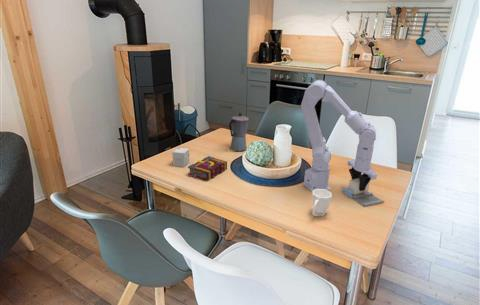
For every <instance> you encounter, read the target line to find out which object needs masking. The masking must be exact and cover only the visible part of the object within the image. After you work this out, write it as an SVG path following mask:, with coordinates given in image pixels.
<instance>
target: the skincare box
mask: <svg viewBox="0 0 480 305" xmlns="http://www.w3.org/2000/svg"><path fill="white" fill-rule="evenodd" d="M171 154H172V165H173V167H179V168H185V167H186V166H187V165H188V164H190V163H191V162H190V149H189V148H187V147H186V148H184V147H177V148H175V149H174V150H172V153H171Z"/></svg>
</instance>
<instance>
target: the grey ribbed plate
mask: <svg viewBox="0 0 480 305" xmlns="http://www.w3.org/2000/svg"><path fill="white" fill-rule="evenodd" d="M348 188H349V187H346V186H343V188H342V191H341V192H342V193H343V194H344V195H346V196H347V197H349V199H351V200H353V202H356V203H357V204H358V205H360V206H361V207H362V208H366V207H367V208H368V207H371V206H377V205H381V204H384V203H385V200H383V199H380V198H378V197H377V196H375V195H374V193H373V192H370V191H368V192H366V193H360V194H357V195H353V192H352V191H350V190H349V189H348Z"/></svg>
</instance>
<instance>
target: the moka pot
mask: <svg viewBox="0 0 480 305" xmlns="http://www.w3.org/2000/svg"><path fill="white" fill-rule="evenodd" d="M249 121H250V119H249V117H248V116H245V115H243V114H242V113H241V112H238V115H237V116H234V115H233V116H232V117H230V122H229V123H228V125H229V126H228V127H229V130H230V131H229V132H230V136H231V142H230V151H231V150H232V151H234V152H244V151H246V150H247V140H246V139H247V138H246V135H247V132H248V126H249Z"/></svg>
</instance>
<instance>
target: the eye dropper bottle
mask: <svg viewBox="0 0 480 305" xmlns="http://www.w3.org/2000/svg"><path fill="white" fill-rule="evenodd" d="M322 137H323V141H324V144H325V145H326V147H327V150H328V151H329V145H328V144H327V140H326V138H325V137H324V136H322Z"/></svg>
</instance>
